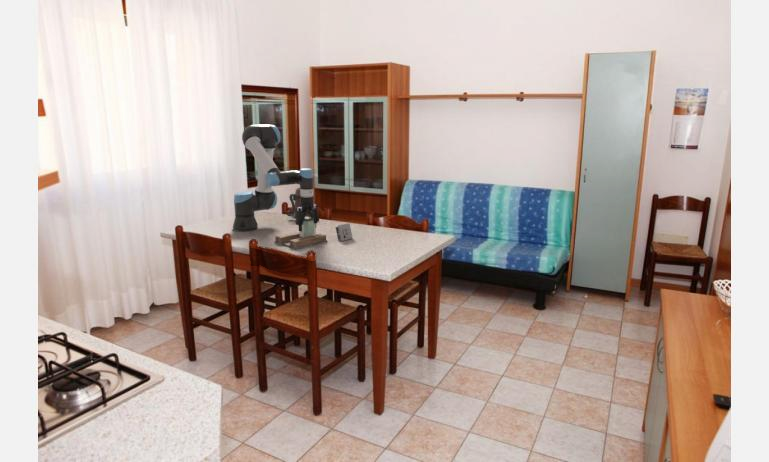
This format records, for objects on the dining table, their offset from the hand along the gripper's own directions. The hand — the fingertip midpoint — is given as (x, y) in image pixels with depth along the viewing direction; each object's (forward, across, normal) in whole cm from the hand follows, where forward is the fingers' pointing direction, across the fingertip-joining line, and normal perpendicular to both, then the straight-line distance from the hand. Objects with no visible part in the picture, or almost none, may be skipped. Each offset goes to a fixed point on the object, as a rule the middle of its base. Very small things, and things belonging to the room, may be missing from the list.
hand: (307, 235), depth 283 cm
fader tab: (+2, 0, 0) cm, 2 cm away
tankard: (+4, +37, +53) cm, 65 cm away
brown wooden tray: (+3, -5, 0) cm, 6 cm away
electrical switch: (+4, +17, -12) cm, 21 cm away
